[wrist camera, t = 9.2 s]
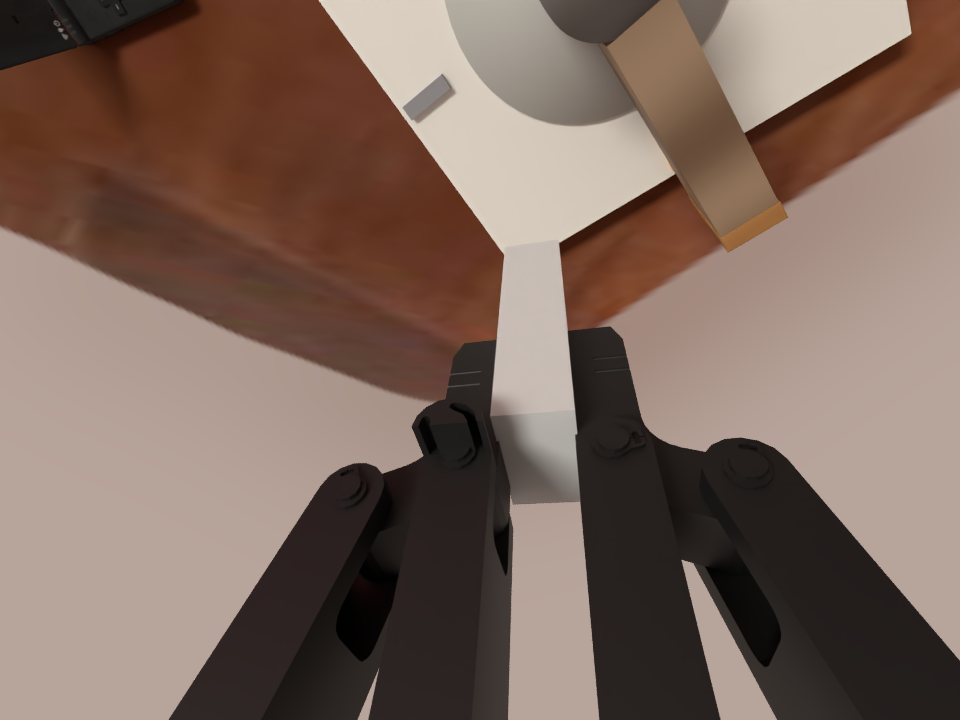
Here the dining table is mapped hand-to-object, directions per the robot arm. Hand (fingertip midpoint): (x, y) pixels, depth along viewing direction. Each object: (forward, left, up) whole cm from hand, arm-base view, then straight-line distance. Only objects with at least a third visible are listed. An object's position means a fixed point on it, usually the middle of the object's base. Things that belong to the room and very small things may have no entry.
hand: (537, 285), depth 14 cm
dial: (-6, 0, -13) cm, 14 cm away
